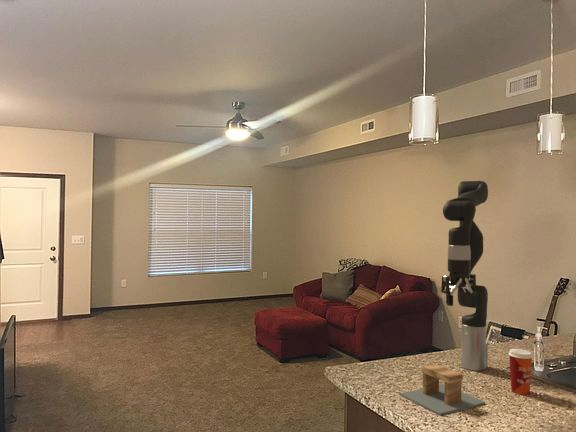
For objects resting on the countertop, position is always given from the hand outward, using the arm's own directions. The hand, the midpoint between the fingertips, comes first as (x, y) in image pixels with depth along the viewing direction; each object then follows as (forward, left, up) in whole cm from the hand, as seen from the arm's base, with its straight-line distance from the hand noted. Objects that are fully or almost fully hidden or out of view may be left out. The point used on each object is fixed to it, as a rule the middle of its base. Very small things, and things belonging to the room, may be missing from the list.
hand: (458, 304), depth 160 cm
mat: (+11, +3, -30) cm, 32 cm away
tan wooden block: (+11, +3, -29) cm, 31 cm away
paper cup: (-19, +10, -30) cm, 37 cm away
